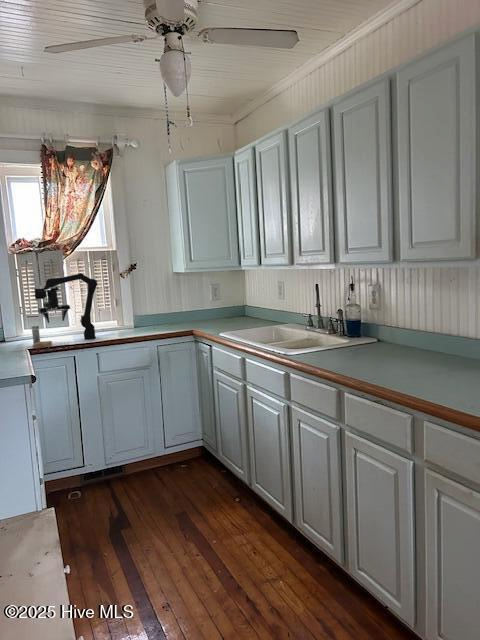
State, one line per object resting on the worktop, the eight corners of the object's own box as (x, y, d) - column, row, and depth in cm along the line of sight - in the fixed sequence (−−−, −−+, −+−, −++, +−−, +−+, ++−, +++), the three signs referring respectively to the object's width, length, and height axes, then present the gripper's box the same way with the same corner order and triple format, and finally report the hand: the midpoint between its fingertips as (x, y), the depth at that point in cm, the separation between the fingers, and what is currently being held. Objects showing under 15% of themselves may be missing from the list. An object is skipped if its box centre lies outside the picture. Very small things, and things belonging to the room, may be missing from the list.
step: (52, 344, 299) (51, 340, 299) (49, 347, 290) (48, 343, 290) (36, 345, 297) (36, 342, 297) (33, 348, 289) (32, 344, 288)
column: (41, 344, 303) (39, 325, 302) (39, 345, 299) (37, 326, 297) (34, 344, 302) (32, 325, 301) (32, 345, 298) (30, 326, 297)
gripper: (63, 295, 318) (66, 319, 320) (33, 299, 306) (37, 323, 309) (69, 296, 309) (72, 320, 311) (39, 299, 298) (42, 324, 300)
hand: (56, 322), depth 308 cm, fingers open, 9 cm apart
